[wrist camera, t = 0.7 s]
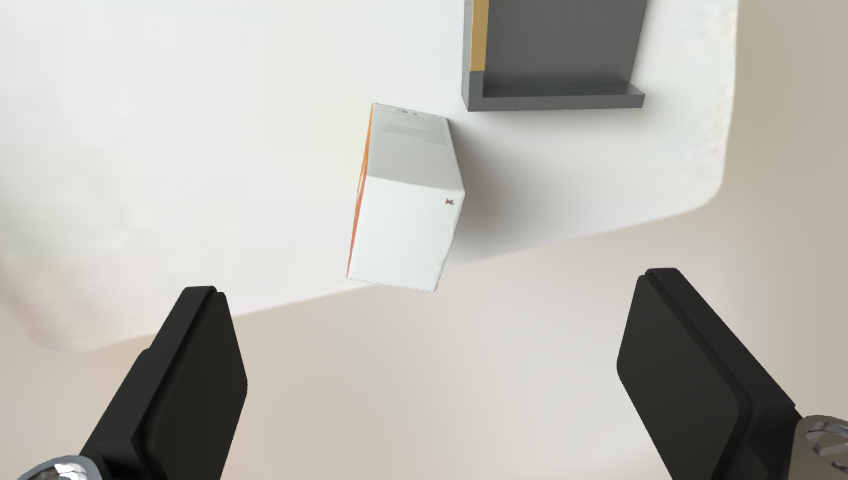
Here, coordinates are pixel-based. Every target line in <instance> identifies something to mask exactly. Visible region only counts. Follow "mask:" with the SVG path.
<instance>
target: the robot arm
mask: <svg viewBox="0 0 848 480" xmlns="http://www.w3.org/2000/svg"><path fill="white" fill-rule="evenodd" d="M617 372H618V375H619V378H620V380H621V382H622V384H623V386H624V387H625V389H626V391H627V393H628V395H629V397H630V399H631V401H632V403H633V405H634V407H635V408H636V410H637V412H638V414H639V416H640V418H641V420H642V422H643V424H644V426H645V428H646V430H647V431H648V433H649V435H650V437H651V439H652V441H653V443H654V445H655V446H656V449H657V451H658V452H659V454H660V456H661V458H662V460H663V462H664V464H665V466H666V468H667V470H668V472H669V474H670V475H671V477H672V479H673V480H848V422H847V421H844V420H841V419H838V418H835V417H832V416H824V415H813V416H806V417H805V418H803V417H802V416H801V415H800V414H799V413H798V412H797V410H796V409H795V408H794V407H795V404H794V402H793V401H792V400H791V399H790V398H789V397H788V396H787V394H786V393H785V392H784V391H783V390H782V389H781V387H780V386H779V385H778V384H777V383H776V382H775V381H774V379H773V378H772V377H771V376H770V375H769V374H768V373H767V372H766V370H765V369H764V368H763V367H762V366H761V364H760V363H759V362H758V361H757V360H756V359H755V357H754V356H753V355H752V354H751V353H750V352H749V351H748V349H747V348H746V347H745V346H744V345H743V344H742V343H741V341H740V340H739V339H738V338H737V337H736V336H735V335H734V333H733V332H732V331H731V330H730V329H729V328H728V326H727V325H726V324H725V323H724V322H723V321H722V320H721V318H720V317H719V316H718V315H717V314H716V313H715V312H714V310H713V309H712V308H711V307H710V306H709V305H708V304H707V303H706V301H705V300H704V299H703V298H702V297H701V295H700V294H699V293H698V292H697V291H696V290H695V289H694V287H693V286H692V285H691V284H690V283H689V282H688V281H687V279H686V278H685V277H684V276H683V275H682V274H681V273H680V271H679V270H677V269H676V268H653V269H648V270H647V271H646V272H645V275H641V276H639V278H638V280H637V283H636V288H635V291H634V295H633V299H632V303H631V307H630V311H629V315H628V319H627V323H626V327H625V331H624V335H623V339H622V343H621V347H620V351H619V355H618V359H617ZM247 386H248V384H247V377H246V373H245V369H244V365H243V361H242V358H241V353H240V350H239V346H238V342H237V338H236V334H235V330H234V327H233V322H232V319H231V315H230V311H229V307H228V303H227V299H226V296H225V294H224V293H223V292H217V290H216V288H215V287H214V286H196V287H186V288H185V289H184V290H183V291H182V293H181V295H180V296H179V298H178V300H177V301H176V303H175V305H174V307H173V308H172V310H171V312H170V313H169V315H168V317H167V318H166V320H165V322H164V324H163V325H162V327H161V329H160V330H159V332H158V334H157V335H156V337H155V339H154V341H153V342H152V344H151V346H150V347H149V348H147V349H145V350H143V351H142V352H141V353H140V355H139V356H138V358H137V359H136V361H135V362H134V364H133V366H132V368H131V369H130V371H129V373H128V374H127V376H126V377H125V379H124V381H123V382H122V384H121V386H120V388H119V389H118V391H117V392H116V394H115V396H114V397H113V399H112V401H111V402H110V404H109V406H108V407H107V409H106V411H105V412H104V414H103V416H102V417H101V419H100V421H99V422H98V424H97V426H96V427H95V429H94V431H93V432H92V434H91V435H90V437H89V439H88V440H87V442H86V444H85V446H84V447H83V449H82V450H81V452H80V454H79V455H67V456H62V457H58V458H54V459H51V460H49V461H46V462H44V463H41V464H39V465H37V466H35V467H34V468H32V469H31V470H29V471H28V472H26V473H24V474H23V475H21V476H20V477H19V478H18V479H17V480H220V478H221V475H222V471H223V468H224V465H225V462H226V459H227V456H228V452H229V449H230V446H231V443H232V440H233V436H234V433H235V430H236V427H237V424H238V421H239V417H240V414H241V411H242V408H243V405H244V401H245V398H246V395H247Z"/></svg>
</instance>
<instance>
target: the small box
mask: <svg viewBox="0 0 848 480" xmlns="http://www.w3.org/2000/svg"><path fill="white" fill-rule="evenodd" d="M465 193H466V192H465V188H464V184H463V180H462V176H461V172H460V168H459V164H458V161H457V157H456V153H455V149H454V146H453V142H452V138H451V133H450V129H449V125H448V121H447V118H445V117H439V116H435V115H430V114H425V113H420V112H415V111H410V110H405V109H400V108H395V107H390V106H385V105H380V104H376V103H373V104H372V108H371V115H370V121H369V127H368V134H367V140H366V146H365V152H364V158H363V163H362V169H361V174H360V180H359V185H358V191H357V200H356V209H355V218H354V225H353V234H352V240H351V250H350V257H349V263H348V271H347V279H351V280H358V281H365V282H372V283H378V284H385V285H392V286H399V287H405V288H412V289H417V290H424V291H429V292H434V291H435V290H436V288H437V285H438V282H439V279H440V276H441V273H442V270H443V267H444V264H445V261H446V258H447V255H448V252H449V250H450V247H451V244H452V240H453V237H454V234H455V229H456V225H457V221H458V218H459V214H460V211H461V207H462V204H463V201H464V197H465Z"/></svg>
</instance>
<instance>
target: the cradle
mask: <svg viewBox="0 0 848 480" xmlns="http://www.w3.org/2000/svg"><path fill="white" fill-rule="evenodd" d="M646 2H647V0H465V10H464V37H463V63H462V90H461V95H462V98H463V100H464V103H465V106H466V108H467V111H468V112H474V111H518V110H561V109H605V108H642V105H643V101H644V97H645V94H644V93H643V92H641V91H640V90H639V89H637V88H636V87H635V86H633V85H632V84H630V83H629V80H630V75H631V71H632V66H633V61H634V57H635V52H636V48H637V43H638V38H639V34H640V29H641V25H642V20H643V15H644V11H645V6H646Z"/></svg>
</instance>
